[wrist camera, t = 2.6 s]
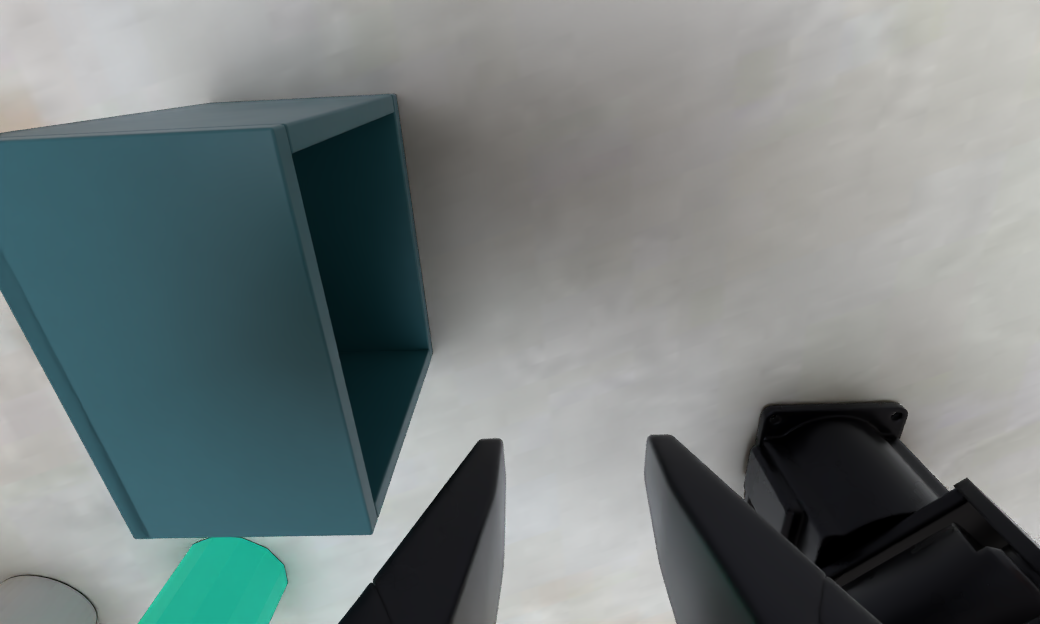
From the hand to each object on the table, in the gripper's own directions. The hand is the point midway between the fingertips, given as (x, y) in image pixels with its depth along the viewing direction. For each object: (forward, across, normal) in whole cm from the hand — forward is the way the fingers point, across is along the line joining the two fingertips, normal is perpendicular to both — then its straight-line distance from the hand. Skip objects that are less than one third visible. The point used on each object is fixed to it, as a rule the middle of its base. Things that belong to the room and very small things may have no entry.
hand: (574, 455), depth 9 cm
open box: (+13, +9, 0) cm, 16 cm away
